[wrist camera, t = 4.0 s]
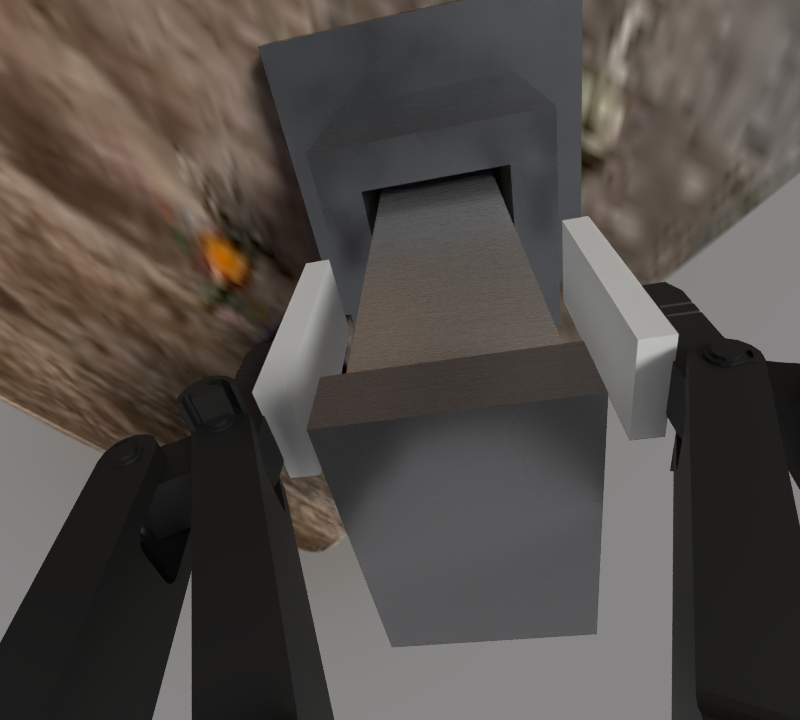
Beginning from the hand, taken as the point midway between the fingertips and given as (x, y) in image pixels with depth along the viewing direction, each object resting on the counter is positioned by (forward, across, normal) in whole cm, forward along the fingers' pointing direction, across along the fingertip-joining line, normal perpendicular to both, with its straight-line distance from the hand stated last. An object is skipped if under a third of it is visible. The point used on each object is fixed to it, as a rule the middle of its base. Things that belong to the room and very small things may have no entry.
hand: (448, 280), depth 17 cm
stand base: (+14, 0, 0) cm, 14 cm away
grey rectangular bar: (+11, 0, 0) cm, 11 cm away
